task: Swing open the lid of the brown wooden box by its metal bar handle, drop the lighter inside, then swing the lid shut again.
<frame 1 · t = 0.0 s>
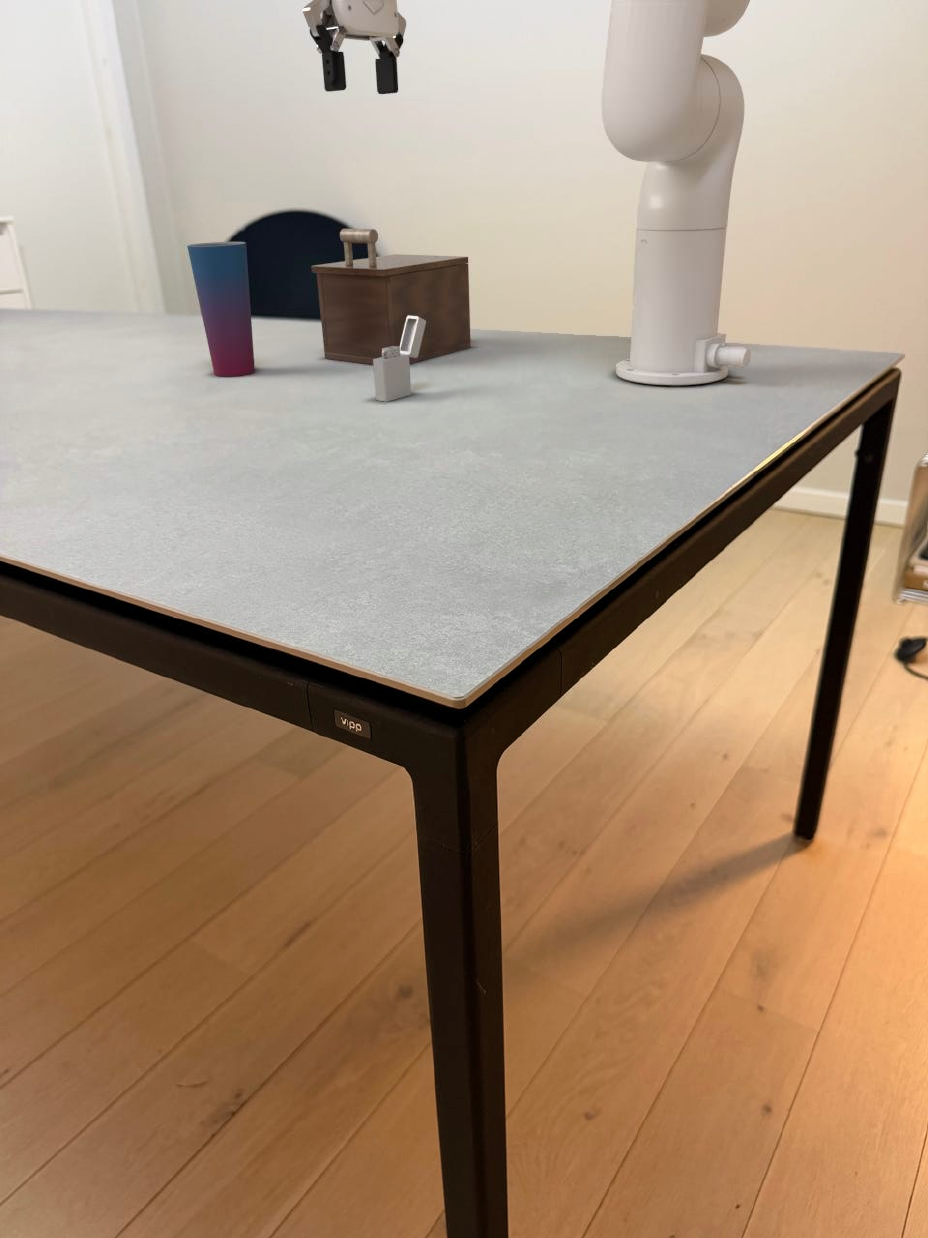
hand: (362, 91, 117), 31 cm above the table, tool pointing down, fingers open, 9 cm apart
lighter: (402, 396, 101), on the table
cup: (234, 373, 116), on the table
lid: (390, 246, 118), point 13 cm above the table, hinge at 0.0°
brown wooden box: (398, 352, 124), on the table
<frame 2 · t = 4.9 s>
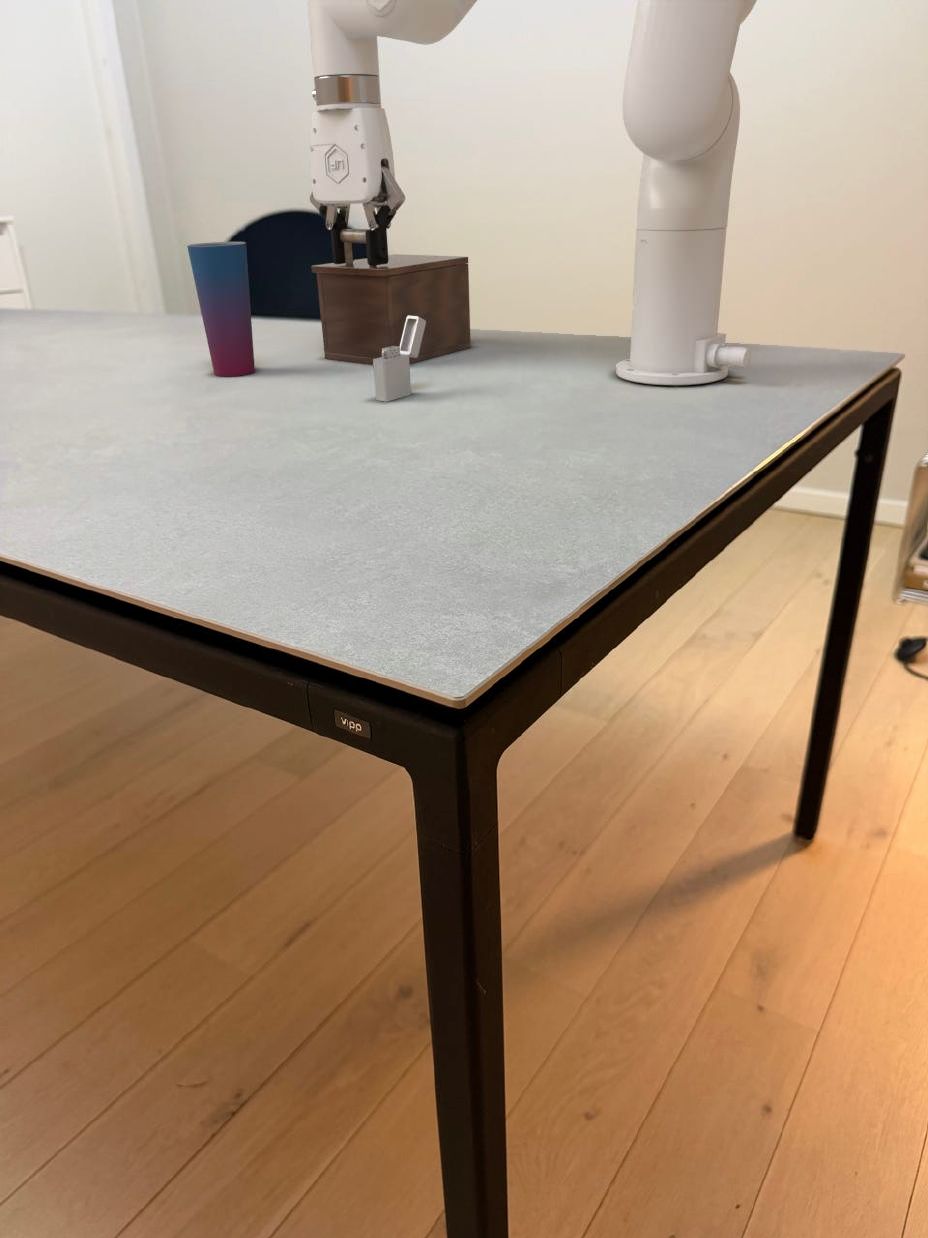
hand: (360, 262, 114), 12 cm above the table, tool pointing down, fingers closed on lid, 5 cm apart
lid: (390, 246, 118), point 13 cm above the table, hinge at 0.0°, touching gripper
everything else where it was.
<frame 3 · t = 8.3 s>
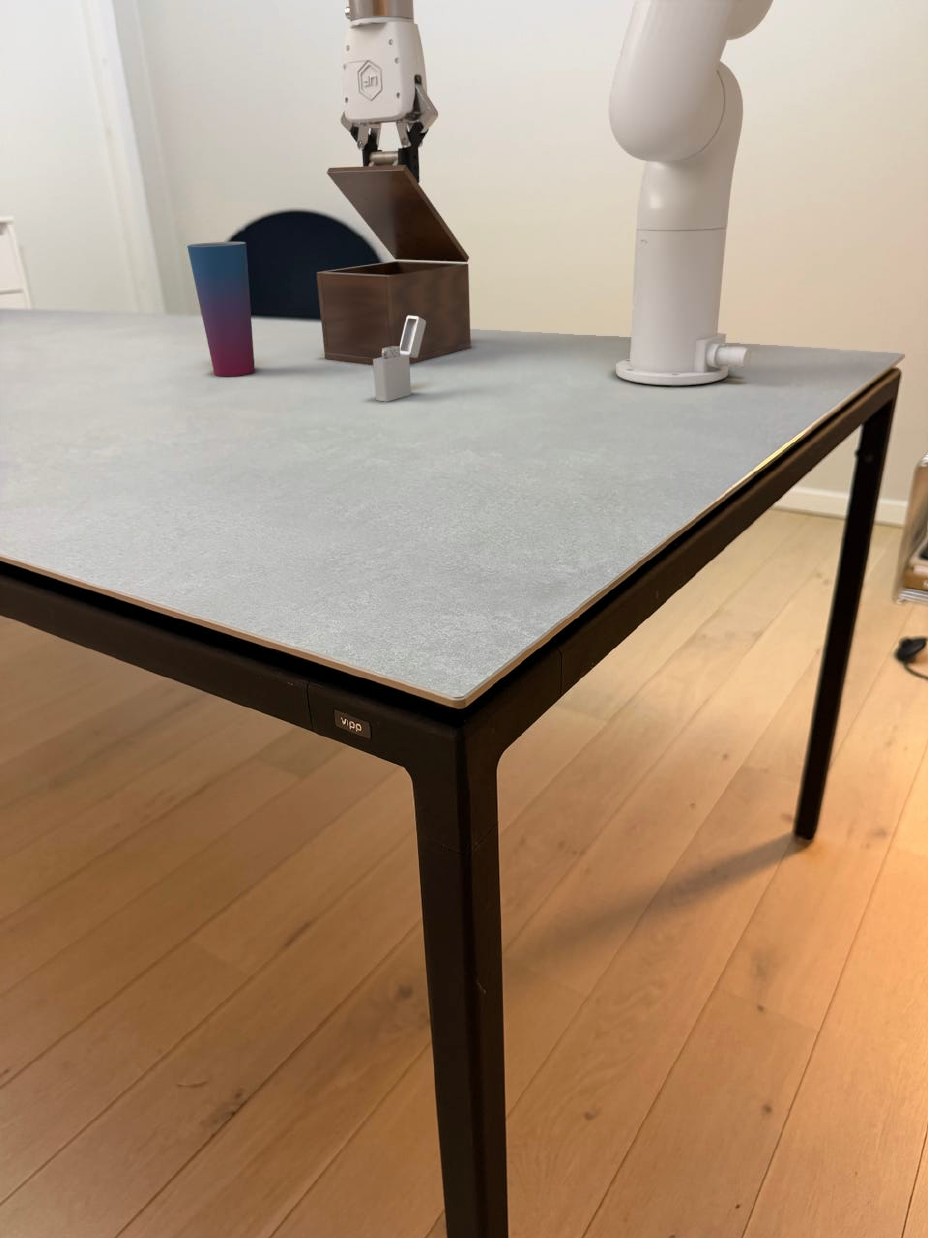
hand: (391, 182, 115), 21 cm above the table, tool pointing down, fingers closed on lid, 5 cm apart
lid: (406, 202, 118), point 18 cm above the table, hinge at 43.1°, touching gripper
everything else where it was.
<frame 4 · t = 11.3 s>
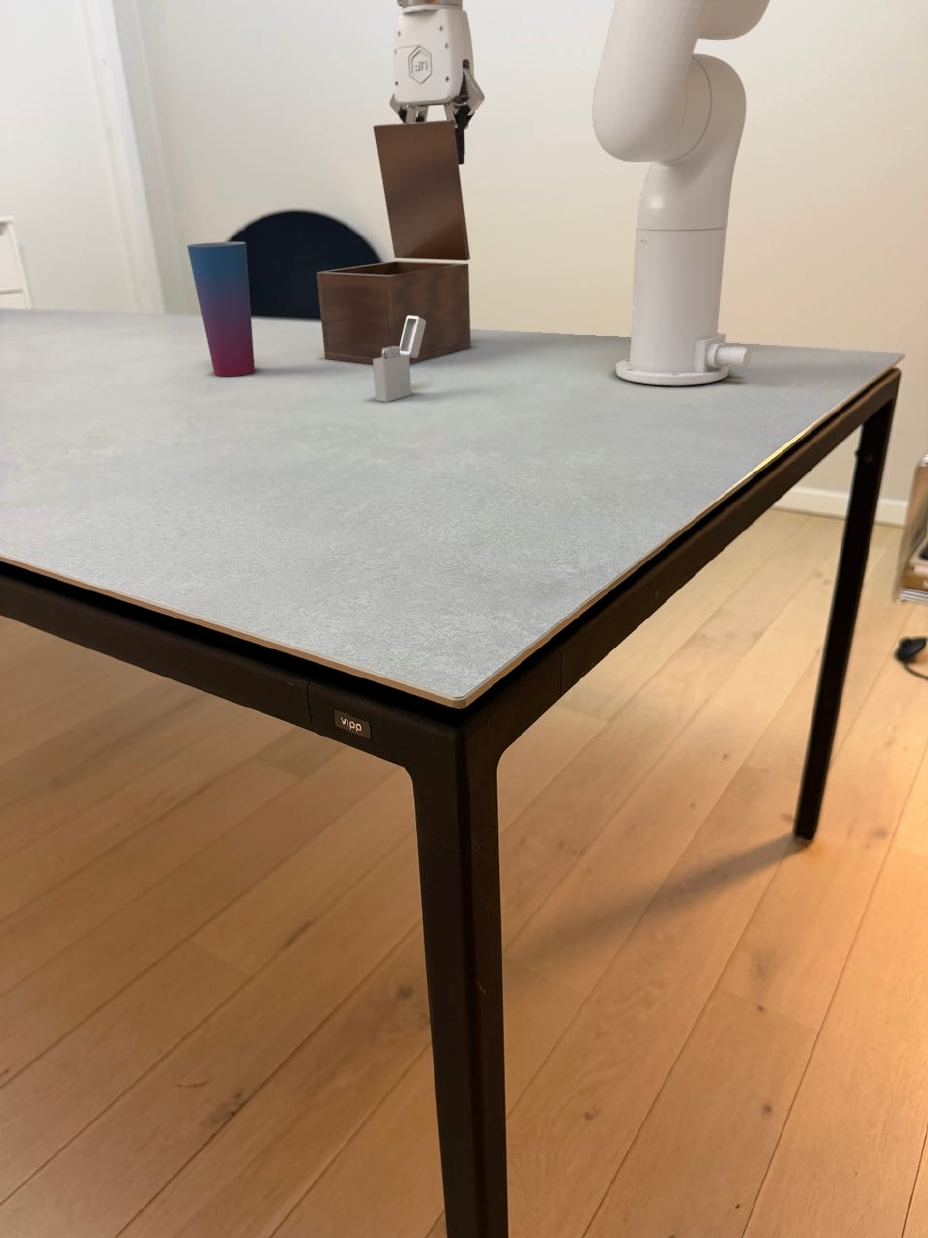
hand: (437, 163, 121), 23 cm above the table, tool pointing down, fingers closed on lid, 5 cm apart
lid: (432, 189, 121), point 20 cm above the table, hinge at 80.8°, touching gripper
everything else where it was.
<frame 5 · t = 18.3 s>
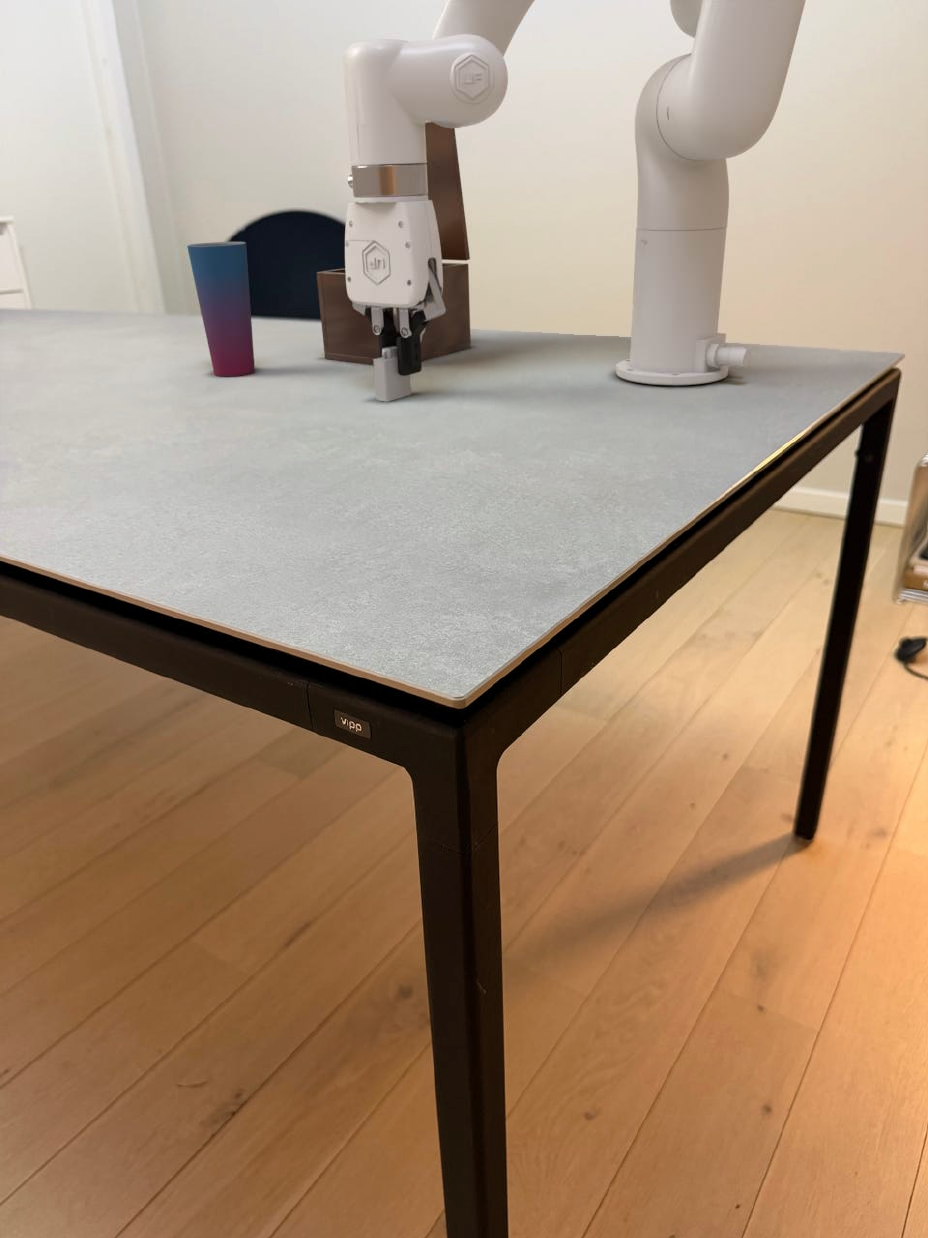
hand: (401, 371, 100), 3 cm above the table, tool pointing down, fingers closed on lighter, 1 cm apart
lighter: (402, 396, 101), on the table, touching gripper
lid: (432, 189, 121), point 20 cm above the table, hinge at 80.9°
everything else where it was.
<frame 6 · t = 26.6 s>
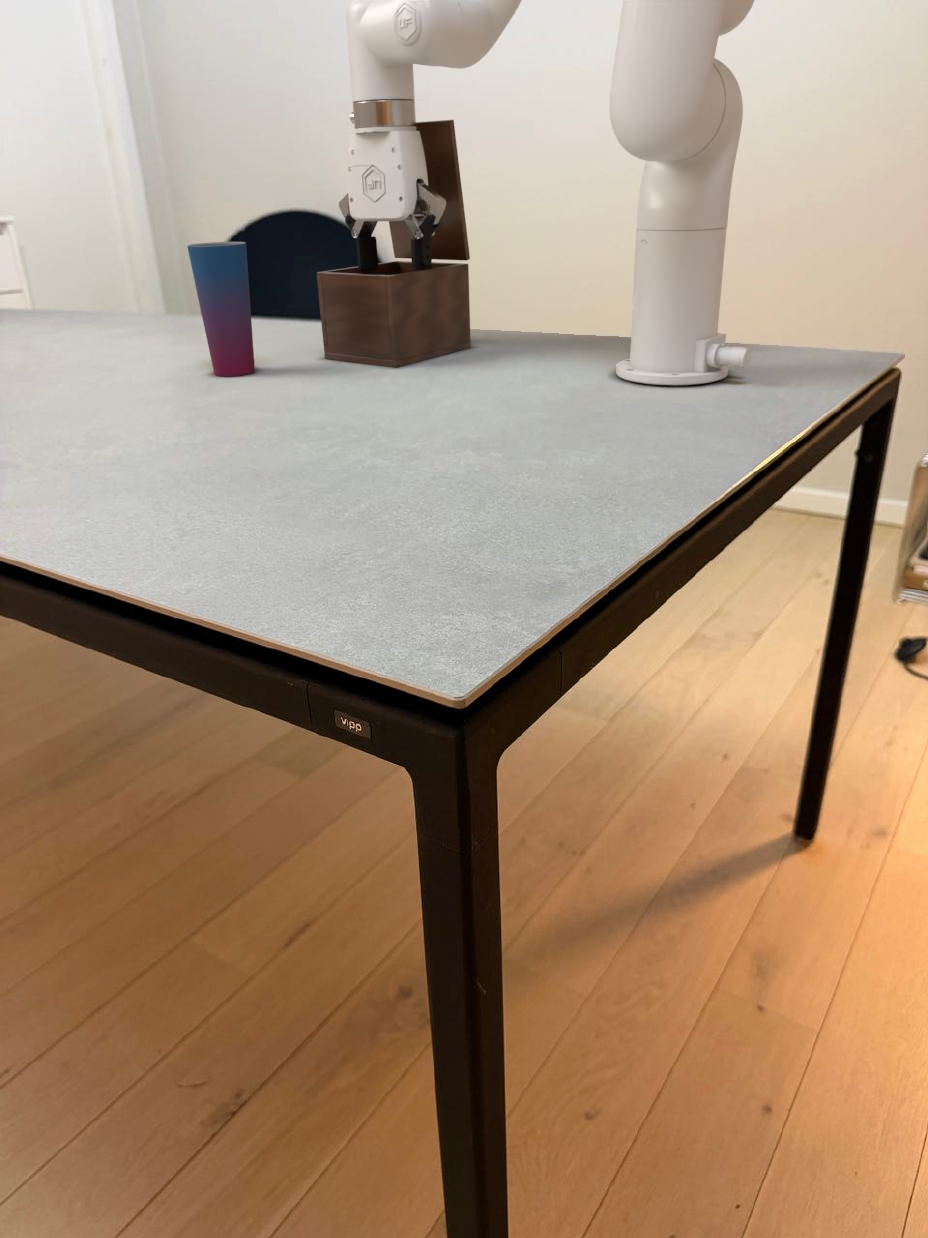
hand: (394, 270, 119), 10 cm above the table, tool pointing down, fingers open, 8 cm apart
lighter: (399, 348, 123), point 1 cm above the table, touching brown wooden box
everything else where it was.
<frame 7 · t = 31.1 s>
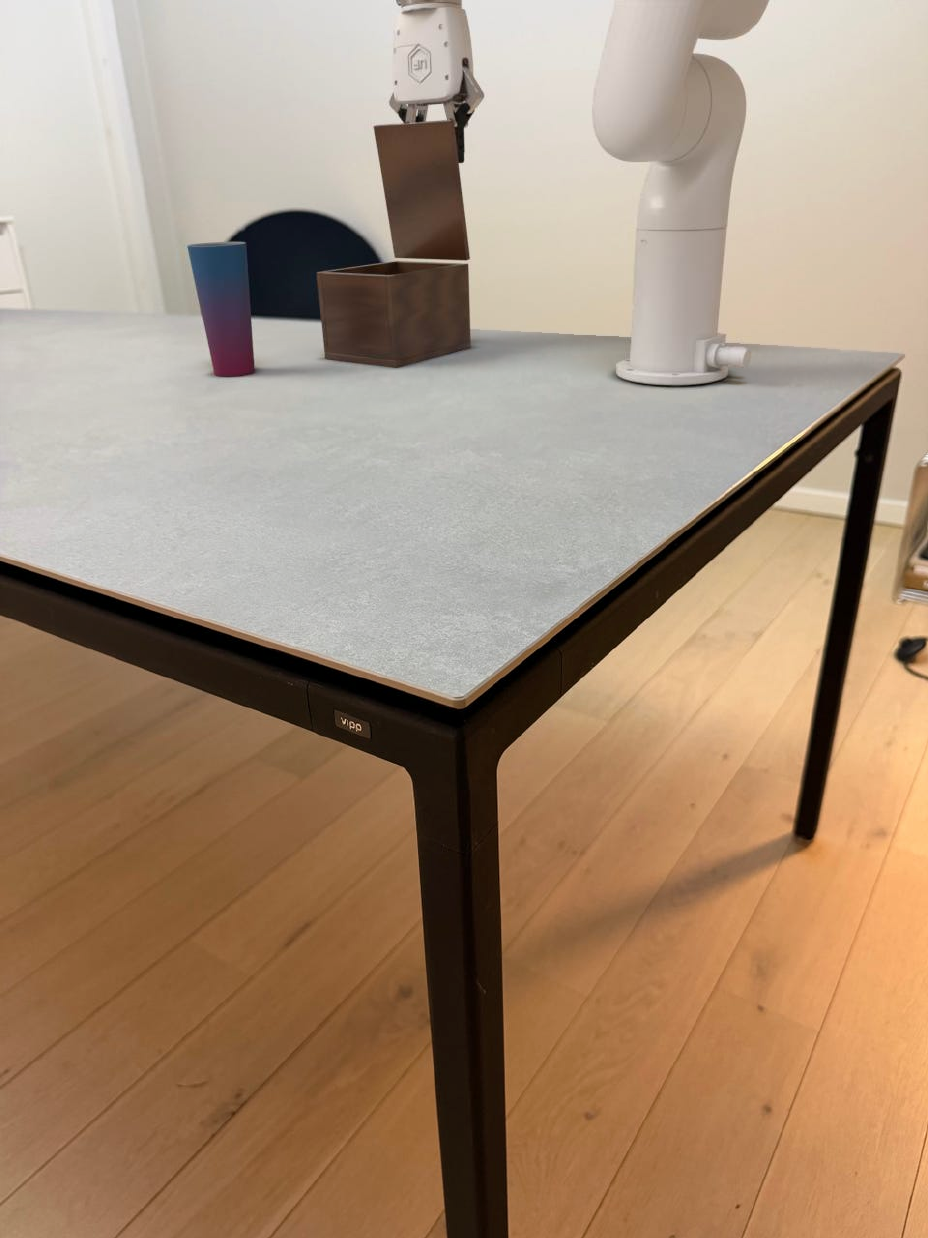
hand: (437, 161, 121), 23 cm above the table, tool pointing down, fingers closed on lid, 5 cm apart
lid: (432, 189, 121), point 20 cm above the table, hinge at 80.9°, touching gripper
everything else where it was.
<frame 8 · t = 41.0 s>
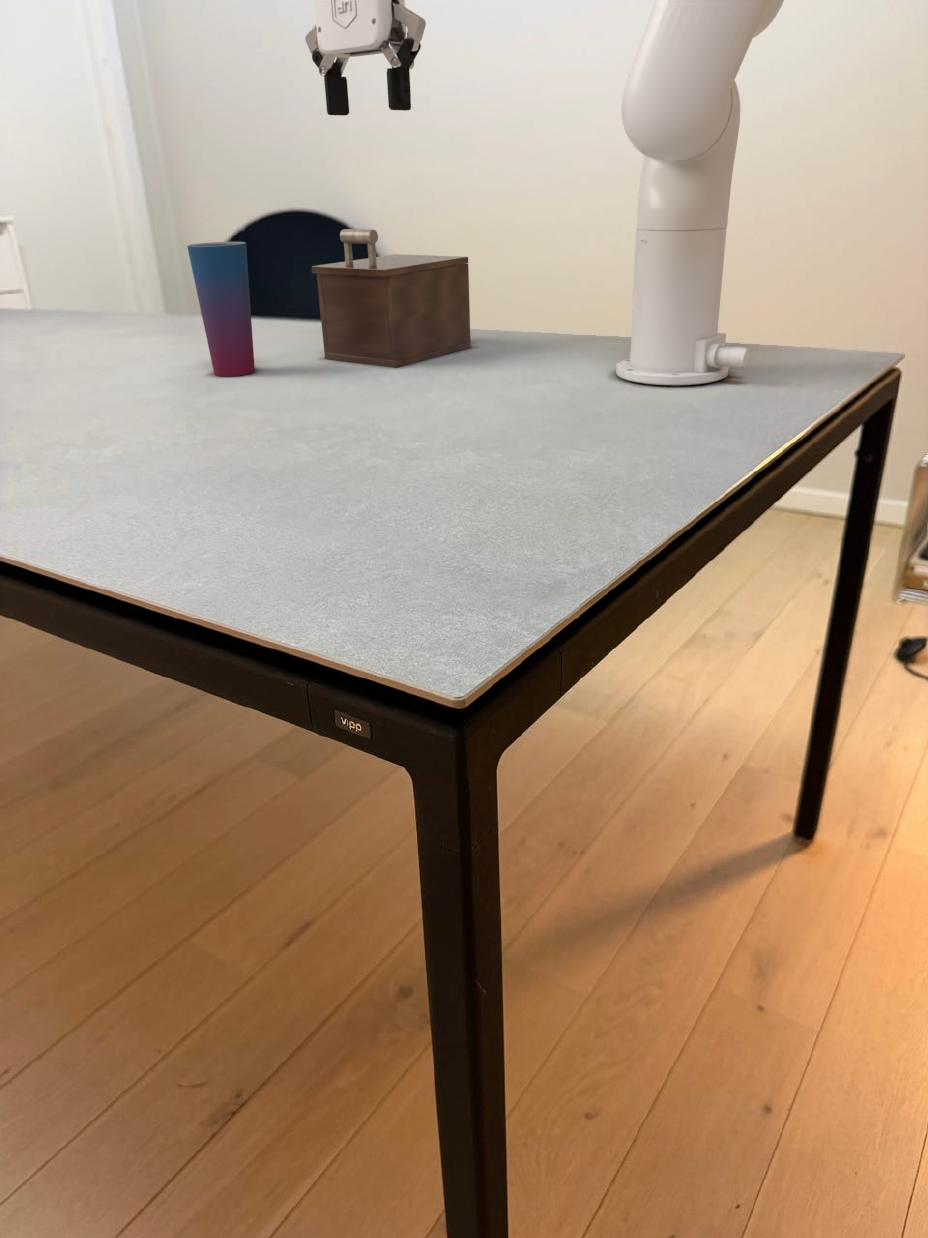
hand: (368, 112, 107), 28 cm above the table, tool pointing down, fingers open, 9 cm apart
lid: (390, 247, 118), point 13 cm above the table, hinge at -0.2°, touching brown wooden box
everything else where it was.
at the end: lid reached +81° during the clip, +0° at the end; lighter inside the target area in the brown wooden box (0.3 cm from its centre), point 0.6 cm above the brown wooden box's base; lid at +0° (first picture: +0°) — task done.
